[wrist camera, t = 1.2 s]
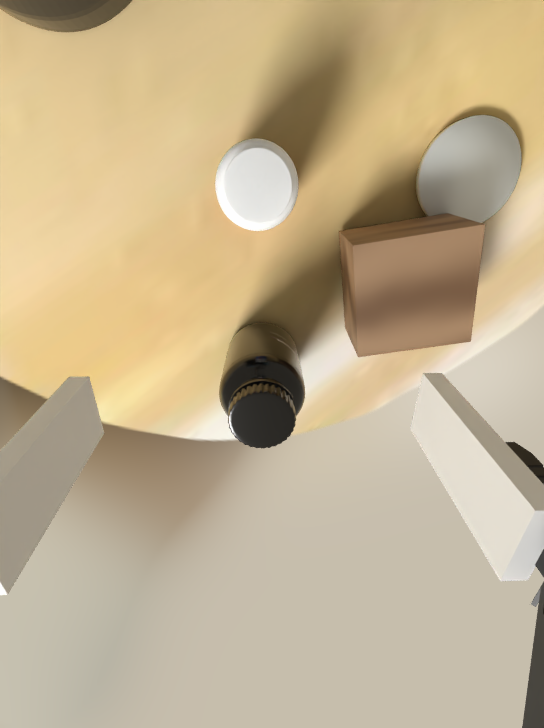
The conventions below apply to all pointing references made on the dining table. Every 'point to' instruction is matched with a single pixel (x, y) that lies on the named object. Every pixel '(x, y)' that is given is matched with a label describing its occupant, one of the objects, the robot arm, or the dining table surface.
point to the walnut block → (410, 283)
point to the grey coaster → (469, 169)
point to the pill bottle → (256, 184)
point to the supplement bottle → (262, 385)
